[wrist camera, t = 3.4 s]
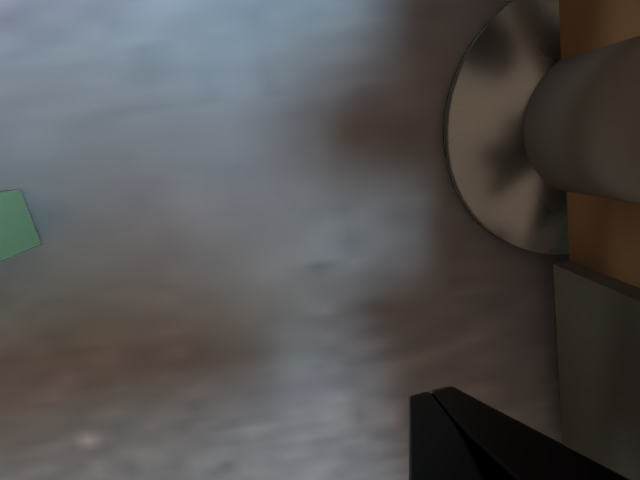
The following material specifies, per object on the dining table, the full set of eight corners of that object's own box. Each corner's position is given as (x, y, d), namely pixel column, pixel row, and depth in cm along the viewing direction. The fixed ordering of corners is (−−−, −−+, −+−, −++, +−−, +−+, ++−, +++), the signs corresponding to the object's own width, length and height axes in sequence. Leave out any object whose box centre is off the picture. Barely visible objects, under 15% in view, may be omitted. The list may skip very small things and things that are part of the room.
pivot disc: (688, 222, 10) (700, 225, 10) (458, 274, 10) (464, 278, 9) (698, -48, 8) (713, -54, 8) (427, 3, 8) (432, -2, 8)
